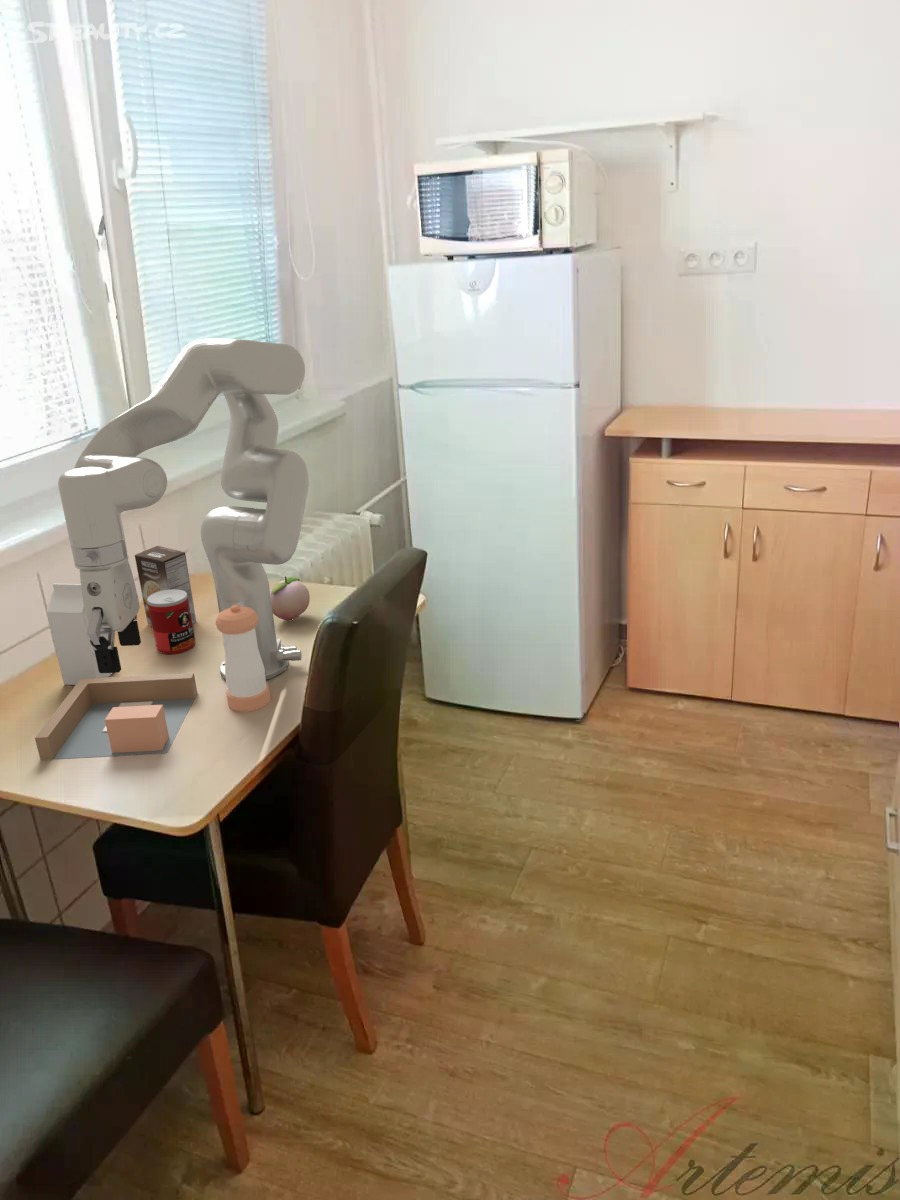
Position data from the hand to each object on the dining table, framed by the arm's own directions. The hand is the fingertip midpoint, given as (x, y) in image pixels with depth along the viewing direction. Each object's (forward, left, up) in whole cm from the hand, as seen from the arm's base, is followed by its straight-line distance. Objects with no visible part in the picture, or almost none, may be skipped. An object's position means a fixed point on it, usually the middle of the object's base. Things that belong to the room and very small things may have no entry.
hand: (120, 658), depth 141 cm
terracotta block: (0, 0, -16) cm, 16 cm away
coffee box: (+9, -52, -17) cm, 56 cm away
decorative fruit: (-17, -50, -17) cm, 56 cm away
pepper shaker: (-15, -13, -17) cm, 26 cm away
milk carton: (+18, -28, -17) cm, 38 cm away
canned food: (+5, -40, -17) cm, 44 cm away
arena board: (+5, -7, -17) cm, 19 cm away
